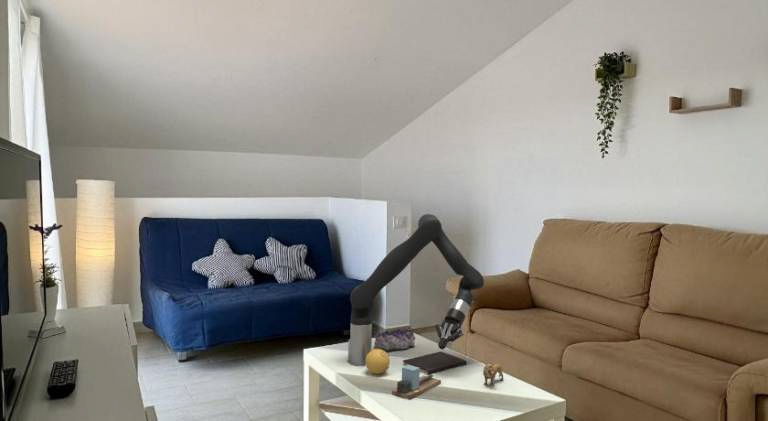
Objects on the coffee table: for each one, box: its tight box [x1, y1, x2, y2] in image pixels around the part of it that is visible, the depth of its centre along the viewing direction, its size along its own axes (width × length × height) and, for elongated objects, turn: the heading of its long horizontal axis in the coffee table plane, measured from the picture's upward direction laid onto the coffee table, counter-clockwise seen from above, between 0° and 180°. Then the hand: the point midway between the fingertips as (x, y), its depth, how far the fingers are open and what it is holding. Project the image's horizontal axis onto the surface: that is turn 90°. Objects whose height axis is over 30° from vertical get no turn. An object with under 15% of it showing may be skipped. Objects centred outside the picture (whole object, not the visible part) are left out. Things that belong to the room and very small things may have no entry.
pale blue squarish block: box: [401, 365, 421, 390], centre depth 205 cm, size 5×4×7 cm
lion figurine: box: [482, 363, 504, 387], centre depth 217 cm, size 15×5×9 cm, turn 149°
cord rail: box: [391, 374, 442, 401], centre depth 209 cm, size 8×21×5 cm, turn 142°
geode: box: [374, 328, 416, 352], centre depth 261 cm, size 20×12×10 cm, turn 120°
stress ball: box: [365, 348, 391, 375], centre depth 225 cm, size 10×10×10 cm
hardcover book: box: [402, 351, 468, 376], centre depth 238 cm, size 16×23×2 cm
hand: (440, 348), depth 222 cm, fingers closed
